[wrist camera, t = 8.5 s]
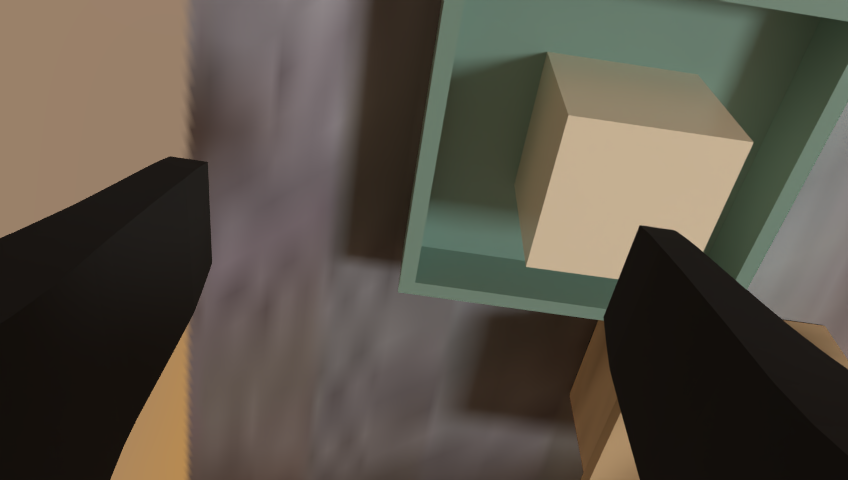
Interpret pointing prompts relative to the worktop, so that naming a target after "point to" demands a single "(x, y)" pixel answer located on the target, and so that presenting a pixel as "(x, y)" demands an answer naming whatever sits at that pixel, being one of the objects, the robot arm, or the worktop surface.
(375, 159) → the worktop surface
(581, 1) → the tray
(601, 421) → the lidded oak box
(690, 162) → the sandstone cube
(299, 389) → the worktop surface
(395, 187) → the worktop surface
